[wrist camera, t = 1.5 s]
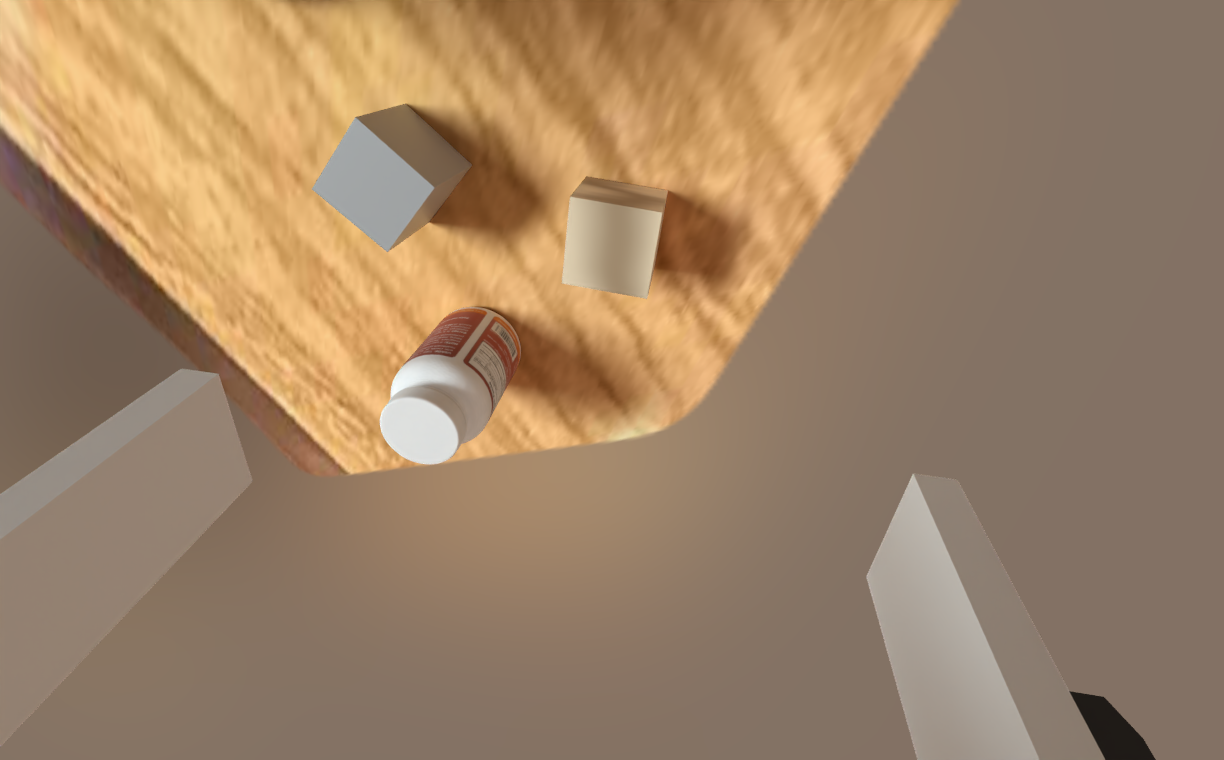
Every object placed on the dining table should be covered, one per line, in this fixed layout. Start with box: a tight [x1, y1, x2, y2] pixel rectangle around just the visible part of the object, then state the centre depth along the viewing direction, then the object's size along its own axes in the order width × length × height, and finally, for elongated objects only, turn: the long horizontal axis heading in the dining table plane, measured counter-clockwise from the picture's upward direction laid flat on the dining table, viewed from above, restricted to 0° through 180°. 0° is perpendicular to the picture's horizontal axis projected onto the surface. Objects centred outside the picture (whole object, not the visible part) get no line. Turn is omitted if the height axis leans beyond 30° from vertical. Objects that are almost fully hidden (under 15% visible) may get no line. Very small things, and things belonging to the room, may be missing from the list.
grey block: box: [312, 104, 472, 252], centre depth 35 cm, size 5×5×6 cm
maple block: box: [562, 177, 668, 299], centre depth 36 cm, size 5×5×5 cm
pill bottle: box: [380, 307, 521, 464], centre depth 39 cm, size 6×6×11 cm
